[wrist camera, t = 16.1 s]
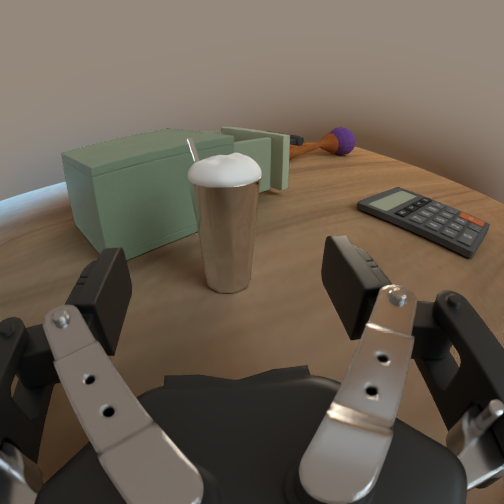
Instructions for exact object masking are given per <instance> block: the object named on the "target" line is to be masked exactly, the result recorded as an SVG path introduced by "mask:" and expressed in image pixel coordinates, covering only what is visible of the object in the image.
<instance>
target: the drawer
mask: <svg viewBox="0 0 504 504" xmlns="http://www.w3.org/2000/svg"><path fill="white" fill-rule="evenodd" d="M208 133H216V134H220V131H219V130H214V131H208ZM221 134H224V135H231V136H234V153H240V154H242V155H246V156H248V157H250V158H252V159H253V160H254V161H255V162H256V163H257V164H258V165H259V167H260V169H261V182H260V191H259V193H260V192H263V191H266V190H269V189H270V187H272V188H275V189H278V190H285V189H288V172H289V147H290V145H296V146H302V145H303V143H304V139H303V137H301V136H295V135H289V134H283V133H276V132H270V131H259V130H251V129H244V128H236V127H221Z"/></svg>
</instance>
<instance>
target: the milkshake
mask: <svg viewBox="0 0 504 504" xmlns="http://www.w3.org/2000/svg"><path fill="white" fill-rule="evenodd" d="M187 141H188V144H189V147H190V150H191V153H192V156H193V159H194V162H195V163H194V164H193V165H192V166H191V168H190V169H189V171H188V175H187V177H188V183H189V188H190V194H191V199H192V205H193V210H194V215H195V218H196V223H197V229H198V235H199V241H200V247H201V253H202V259H203V265H204V270H205V276H206V280H207V283H208V287H209V288H211V289H213V290H215V291H217V292H219V293H235V292H238V291H240V290H243V289H245V288H246V287H247V286H248V284H249V282H250V281H251V275H252V264H253V253H254V241H255V230H256V217H257V208H258V199H259V191H260V182H261V169H260V167H259V165H258V164H257V163H256V162H255V161H254V160H253V159H252V158H250V157H248V156H246V155H242V154H240V153H232V154H230V155H217V156H212V157H209V158H206V159H203V160H201V161H200V160H199V157H198V154H197V151H196V148H195V145H194V142H193V139H192V138H188V139H187Z"/></svg>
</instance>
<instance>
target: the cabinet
mask: <svg viewBox="0 0 504 504" xmlns="http://www.w3.org/2000/svg"><path fill="white" fill-rule="evenodd" d="M188 138H192V139H193V142H194V145H195V148H196V151H197V154H198V157H199V160H200V161H201V160H203V159H206V158H209V157H212V156H217V155H230V154H232V153H234V136H231V135H224V134H216V133H208V132H200V131H190V130H182V129H170V128H167V129H161V130H156V131H151V132H145V133H140V134H135V135H131V136H126V137H122V138H117V139H113V140H109V141H104V142H100V143H96V144H92V145H88V146H85V147H81V148H77V149H74V150H70V151H67V152H63V153H62V160H63V167H64V173H65V179H66V184H67V190H68V195H69V199H70V204H71V209H72V213H73V218H74V222H75V224H76V226H77V227H78V228H79V229H80V231H81V232H82V233H83V234H84V236H85V237H86V238H87V239H88V241H89V242H90V243H91V244H92V246H93V247H94V248H95V249H96V250H97V252H98V253H99V254H101V252H102V250H103V249H104V248H116V247H122V248H123V250H124V252H125V257H126V261H127V260H129V259H131V258H134V257H136V256H139V255H141V254H143V253H146V252H148V251H151V250H153V249H156V248H158V247H161V246H163V245H165V244H168V243H170V242H173V241H175V240H178V239H180V238H183V237H185V236H188V235H190V234H193V233H195V232H198V229H197V223H196V218H195V215H194V210H193V205H192V199H191V194H190V188H189V183H188V177H187V175H188V171H189V169H190V168H191V166H192V165H193V164H194V163H195V162H194V159H193V156H192V153H191V150H190V147H189V144H188V141H187V139H188Z"/></svg>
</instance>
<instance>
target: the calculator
mask: <svg viewBox="0 0 504 504" xmlns="http://www.w3.org/2000/svg"><path fill="white" fill-rule="evenodd" d="M357 209H360V210H362V211H365V212H367V213H370V214H372V215H374V216H377V217H379V218H382V219H384V220H387V221H389V222H391V223H394V224H396V225H398V226H401V227H403V228H405V229H408V230H410V231H412V232H414V233H417V234H419V235H421V236H423V237H426V238H428V239H430V240H432V241H434V242H436V243H439V244H441V245H443V246H445V247H447V248H449V249H451V250H453V251H455V252H458V253H460V254H462V255H464V256H466V257H468V258H472V257H473V255H474V254H475V252H476V250H477V249H478V247H479V245H480V243H481V242H482V240H483V238H484V236H485V235H486V233H487V231H488V228H489V224H488V223H487V222H484V221H482V220H480V219H478V218H475V217H473V216H471V215H469V214H466V213H464V212H462V211H459V210H457V209H454V208H452V207H450V206H447V205H445V204H442V203H440V202H437V201H435V200H432V199H430V198H427V197H424V196H422V195H419V194H416V193H414V192H411V191H408V190H405V189H403V188H400V187H396V188H393V189H391V190H388V191H385V192H382V193H380V194H377V195H374V196H371V197H369V198H366V199H363V200H361V201H358V203H357Z"/></svg>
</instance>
